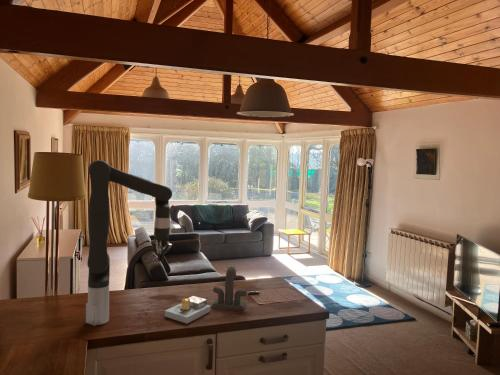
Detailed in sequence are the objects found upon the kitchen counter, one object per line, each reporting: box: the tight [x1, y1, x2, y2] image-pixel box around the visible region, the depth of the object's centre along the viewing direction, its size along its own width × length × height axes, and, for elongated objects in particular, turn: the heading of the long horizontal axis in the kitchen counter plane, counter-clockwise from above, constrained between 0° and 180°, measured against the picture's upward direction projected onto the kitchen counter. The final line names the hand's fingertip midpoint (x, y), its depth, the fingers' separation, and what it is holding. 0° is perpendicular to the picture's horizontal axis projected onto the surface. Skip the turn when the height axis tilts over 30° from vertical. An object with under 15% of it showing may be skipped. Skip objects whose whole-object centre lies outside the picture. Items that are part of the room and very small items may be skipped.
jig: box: [164, 302, 211, 324], centre depth 196 cm, size 18×14×3 cm
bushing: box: [181, 297, 190, 312], centre depth 194 cm, size 4×4×8 cm
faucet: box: [210, 265, 248, 311], centre depth 211 cm, size 18×16×20 cm
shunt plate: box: [188, 295, 208, 308], centre depth 201 cm, size 7×9×2 cm
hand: (160, 260), depth 195 cm, fingers closed
